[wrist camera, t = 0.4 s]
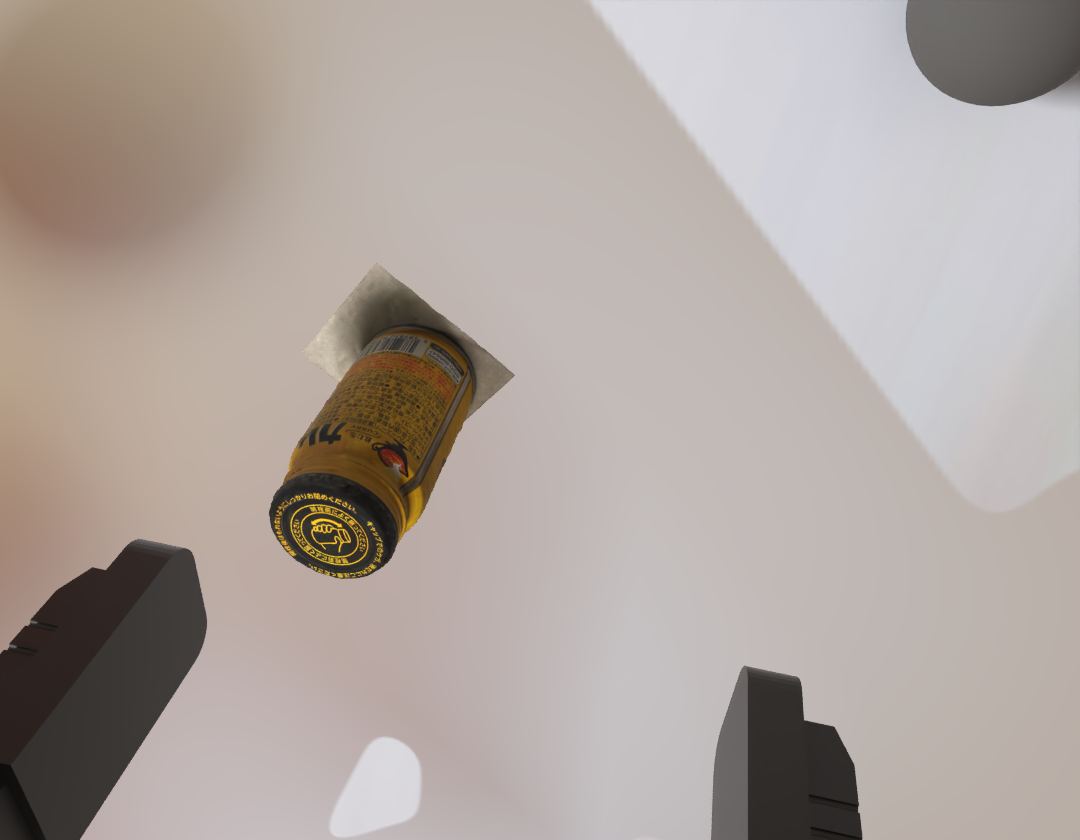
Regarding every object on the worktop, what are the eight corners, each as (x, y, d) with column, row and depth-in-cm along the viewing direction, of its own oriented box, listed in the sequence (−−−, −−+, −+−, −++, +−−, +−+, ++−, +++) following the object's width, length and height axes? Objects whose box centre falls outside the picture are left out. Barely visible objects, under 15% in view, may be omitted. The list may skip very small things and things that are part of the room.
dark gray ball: (914, -114, 29) (947, -94, 24) (1115, -118, 28) (1192, -99, 23) (879, 77, 32) (901, 127, 27) (1056, 80, 31) (1111, 133, 26)
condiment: (432, 450, 47) (351, 619, 37) (302, 351, 45) (181, 504, 35) (516, 372, 43) (449, 539, 33) (378, 259, 41) (265, 403, 31)
